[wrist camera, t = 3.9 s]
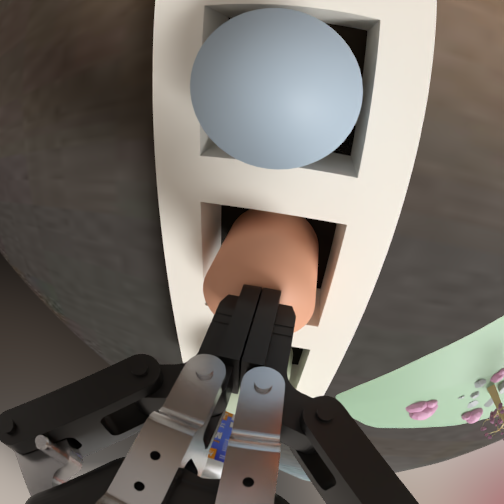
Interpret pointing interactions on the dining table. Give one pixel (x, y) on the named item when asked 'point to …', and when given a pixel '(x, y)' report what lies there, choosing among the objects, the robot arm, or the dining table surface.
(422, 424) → the plant
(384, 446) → the dining table surface
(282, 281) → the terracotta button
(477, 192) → the dining table surface
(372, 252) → the button board
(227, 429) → the pill bottle
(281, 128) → the light blue rounded dome
